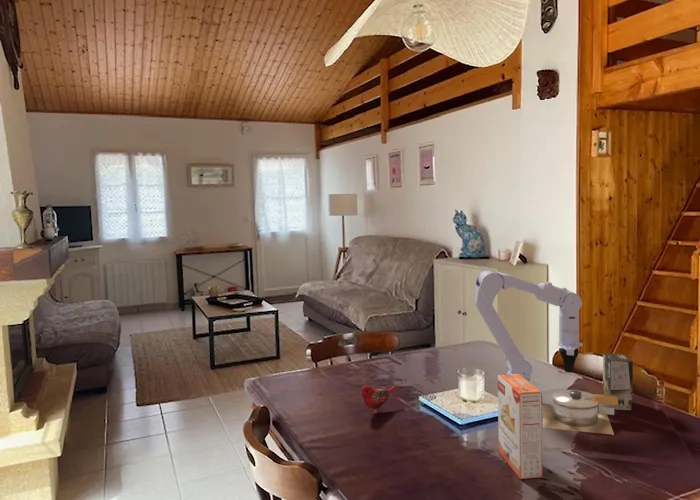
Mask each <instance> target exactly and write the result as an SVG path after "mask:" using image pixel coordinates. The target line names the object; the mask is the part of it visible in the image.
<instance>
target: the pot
mask: <svg viewBox="0 0 700 500" xmlns="http://www.w3.org/2000/svg"><path fill="white" fill-rule="evenodd" d="M552 401H553V400H552ZM552 406H553V417H554V419H555V420H557V421H558V422H560V423H563V424H566V425H570V426H576V427H589V426H594V425H596V424H597V423H598V413H599V414H607V416H608V415H610V416H615V410H614V406H613V405H607V404H599V406H597V407H595V408H590V409H576V408H569V407H565V406H562V405H559V404H557V403H555V402H554V401H553V404H552Z"/></svg>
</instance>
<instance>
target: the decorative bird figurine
mask: <svg viewBox="0 0 700 500" xmlns="http://www.w3.org/2000/svg"><path fill="white" fill-rule="evenodd" d="M397 386H398V384H395V385H393V386H392V387H390V388H389V389H382V388H381V389H380V388H379V389H378V388H377V389H376V388H373V387H372V386H370V385H366V384H365V385H364V386H363V387H362V389H361V393H360V396H362V398H363V402H364V404H365V406H367V407H368V408H369V409H374V410H375V409H376V410H375V411H373V413H370V414H369V415H370V416H371V415H376V414H377V413H379V412H380V411H381V409H380V408H381V407H382V406H383V405H384V404H385V403H386V402H387V400H388V399H389V396H390V394H391V393H392V392H393V391H394V390H395V389H396V388H397Z"/></svg>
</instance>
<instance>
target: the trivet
mask: <svg viewBox="0 0 700 500" xmlns="http://www.w3.org/2000/svg"><path fill="white" fill-rule="evenodd" d="M543 428H544V429H552V430H553V429H554V430H564V431H572V432H573V431H574V432H581V433H582V432H583V433H594V434H603V435H613V436H614V435H615V433H614V430H613V428H612V424H611V422H610V419H609V416H608V414H599V413H598V423H597V424H596V425H594V426H589V427H576V426H570V425H566V424H563V423H560V422H558V421H557V420H555V419H554V417H553V404H550V405H549V404H542V429H543Z"/></svg>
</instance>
